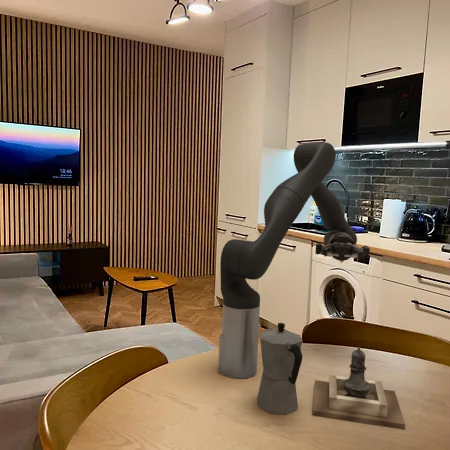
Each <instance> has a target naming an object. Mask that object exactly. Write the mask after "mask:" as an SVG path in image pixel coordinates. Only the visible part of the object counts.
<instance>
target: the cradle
mask: <svg viewBox="0 0 450 450" xmlns="http://www.w3.org/2000/svg"><path fill="white" fill-rule="evenodd" d="M349 377H350V376H349ZM349 377H348V376H343V375H342V376H341V375H333V374H329V380H328V381H325V380H324V381H323V380H317V379H316V380H314V387H313V388H314V389H313V390H314V391H313V403H312V416H315V417H316V416H317V417H323V418H330V419H335V420H342V421H343V420H344V421H347V422H348V421H349V422H356V423H362V424H369V425H374V426H383V427H388V428H389V427H390V428H395V429H401V430H402V429H403V430H405V429H406V422H405V420H404V417H403V413H402V410H401V407H400V404H399V400H398V397H397V393H396V391H395V390H390V389H384V386H383V383H382V381H379V380H370V379H365V381H366V382H368V383H369V384H370V385H371V388H370V389H369V392H368V394H367V395H366V396H365V397H366V398H367V399H361V398H354V397H347V396H344V395H346V394H347V392H346V391H345V388H344V385H343V381H344V380H345V379H348V378H349Z"/></svg>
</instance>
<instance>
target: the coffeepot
mask: <svg viewBox="0 0 450 450" xmlns="http://www.w3.org/2000/svg"><path fill="white" fill-rule="evenodd" d="M285 326H286V324H285V323H283V322H278V323H277V329H276V328H265V331H261V332H259V339H260V341H259V342H260V349H261V361H262V369H263V370H262V371H263V372H262V373H261V378H260V383H259V388H258V392H257V397H256V399H257V401H256V402H257V403H256V404H257V405H256V406H257V407H258V408H259V409H260V410H262V411H264V412H266V413H268V414H273V415H288V414H289V415H290V414H292V413H294V412H296V411H297V409H299V404H298V403H299V402H298V395H297V385H296V383H297V379H298V376H299V373H300V369H301V366H302V362H303V354H302V353H303V352H302V350H301V348H302V345H303V344H302V343H303V340H302V336H301V335H300V334H298V333H295V332H293V331H289V330H285V328H286V327H285Z"/></svg>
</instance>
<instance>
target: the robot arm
mask: <svg viewBox="0 0 450 450" xmlns="http://www.w3.org/2000/svg"><path fill="white" fill-rule="evenodd" d="M335 161H336V149H335V147H334V146H333V145H332V144H331V143H329V142H325V141H324V142H323V141H318V142H317V141H315V142H307V143H301V144H298V145H297V146H296V147H295V150H294V151H293V164H294V167H295V169H296V171H297V172H296V173H295V174H293V175H292V176H290V177H288V178H287V179H285V180H283V181H282V182H281V183H280V184H278V185H277V186H276V187H275V189H273V191H272V192H271V194H270V195H269V197H268V198H267V199H266V201H265V203H264V207H263V218H264V229H263V231H262V232H261V233H260V235H259V236H258V238H257V239H255V240H254V241H252V240H246V239H245V240H243V239H237V238H233V239H230V240H228V241H226V243H225V244H224V245H223V248H222V251H221V254H220V267H219V268H220V270H219V271H220V272H219V273H220V292H221V295H222V321H221V322H222V324H221V334H219V338H218V339H219V343H218V367H217V370H218V371H217V372H218V374H222V375H224V376H226V377H229V378H233V379H247V378H248V379H249V378H252V377H254V376H255V375H256V374H257V373H258V372H257V371H258V353H259V336H260V310H261V309H260V308H261V295H260V293H259V292H258V291H257V290H255V289H254V288H252V286H250V284H249V283H248V281H247V280H255V281H256V280H259V279H261V278H262V277H263V276H264V275H265V273H266V272H267V270H269V267H270V266H271V264H272V262H273V259H274V258H275V256H276V253H277V252H278V250H279V247H280V245H281V243H282V242H283V240H284V238H285V237H286V235H287V233H288V231H289V230H290V228H291V227H292V225H293V223H294V222H295V221H296V219H297V218H298V217H299V215H300V213H301V212H302V210H303V209H304V207H305V205H306V203H307V202H308V200H309V199H310V197H311V198H312V200H313V202H314V203H315V206H316V208H317V210H318V214H319V216H320V218H321V223H322V224H323V227H324V228H325V229H326V230H330V231H329V232H326V233H325V235H324V236H323V243H322V242H317V243H316V244H315V255H320V254H321V255H322V256H323V257H332V259H334V260H336V261H340V262H344V261H348V260H349V259H351V258H353V259H355V258H357V260H362V258H366V259H369V258H370V252H371V248H370V247H369V246H367V245H363V246H361V247H359V246H358V245H357V242H358V238H357V237H358V236H357V234H356V232H355V231H354V229H353V228H352V226H350V224H349V223H348V222H347V219H346V217H345V215H344V212H343V209H342V204H341V203H340V201H339V199H338V198H337V196H336V194H334V193H333V192H332V191H331V190H330V189H329V188H328V187H327V186H326V185H325V184H324V183H323V180H324V179H325V178H326V177H327V176H328V174H329V173H330V172H331V171H332V169H333V167H334V165H335Z"/></svg>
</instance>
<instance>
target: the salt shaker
mask: <svg viewBox="0 0 450 450" xmlns="http://www.w3.org/2000/svg"><path fill="white" fill-rule="evenodd" d="M350 362H351V363H350V364H349V365H348V367H349V369H350V372H349V373H350V374H349V378H348V379H345V380H344V381H343V385H344V388H345V391H346V392H347V394H346V395H344V396H347V397H354V398H361V399H367V398H366V397H365V396H366V395H367V394H368V392H369V389H370V388H371V385H370V384H369V383H368V382H366V381H365V380H366V379H365V371H367V367H366V366H365V364H366V353H365V352H364V351H363V350H361V347H360V346H357V349H355V350H353V351H352V352H351V361H350Z"/></svg>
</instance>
